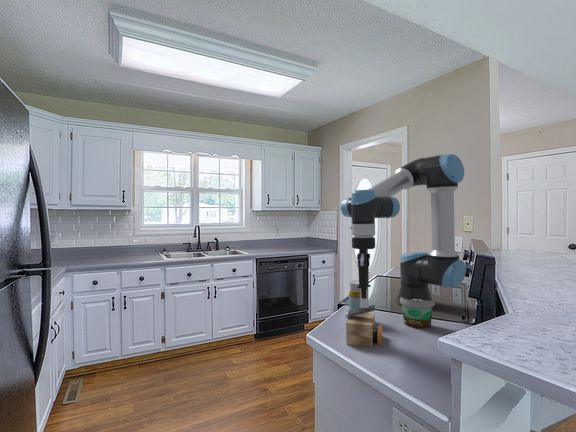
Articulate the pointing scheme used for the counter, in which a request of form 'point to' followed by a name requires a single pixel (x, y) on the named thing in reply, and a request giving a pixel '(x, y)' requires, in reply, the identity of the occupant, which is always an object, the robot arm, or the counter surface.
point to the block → (360, 330)
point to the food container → (417, 312)
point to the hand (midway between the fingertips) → (364, 307)
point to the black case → (377, 334)
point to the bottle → (354, 295)
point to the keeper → (359, 311)
